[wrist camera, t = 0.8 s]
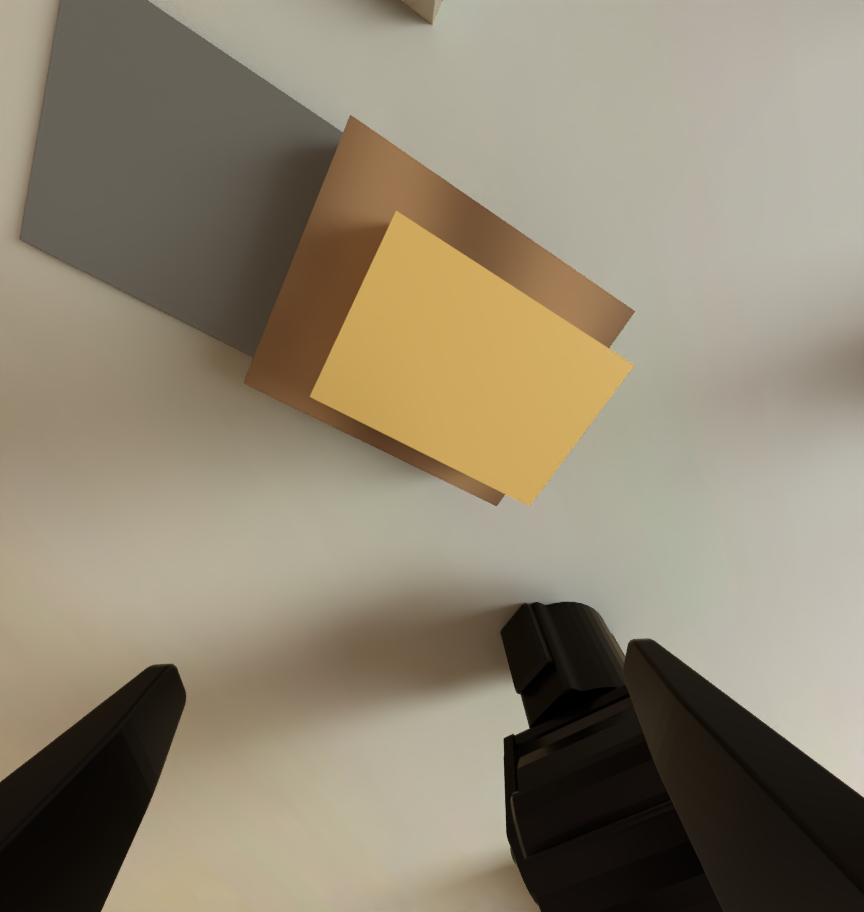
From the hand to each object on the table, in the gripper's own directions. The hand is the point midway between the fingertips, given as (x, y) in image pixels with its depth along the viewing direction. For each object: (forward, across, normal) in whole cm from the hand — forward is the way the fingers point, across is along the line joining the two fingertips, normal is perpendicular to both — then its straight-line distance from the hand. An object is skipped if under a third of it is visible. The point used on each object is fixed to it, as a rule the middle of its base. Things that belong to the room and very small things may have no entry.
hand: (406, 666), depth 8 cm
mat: (+12, +8, -10) cm, 18 cm away
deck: (+13, -1, -5) cm, 14 cm away
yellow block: (+9, -2, -4) cm, 10 cm away
